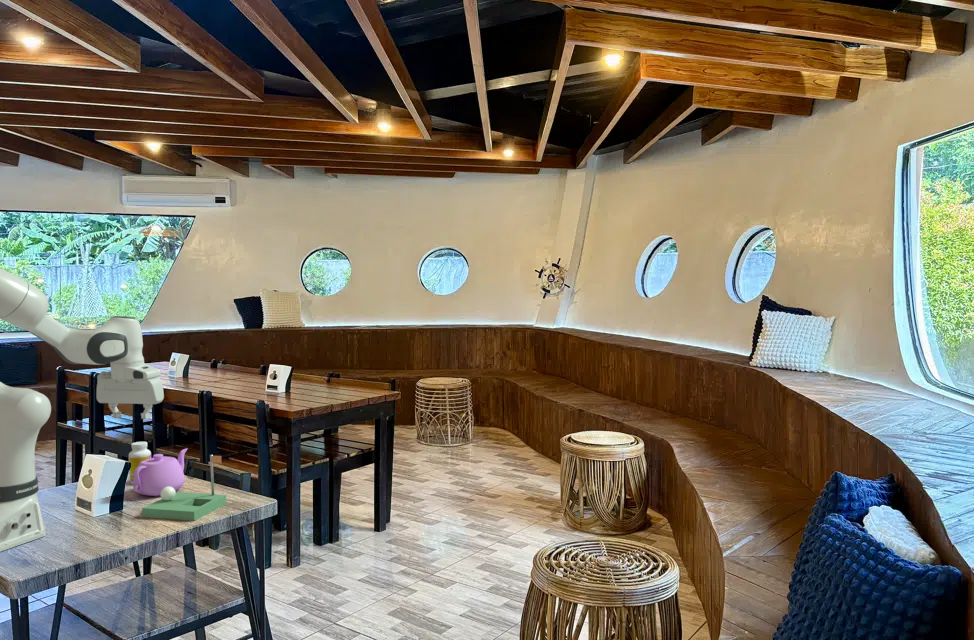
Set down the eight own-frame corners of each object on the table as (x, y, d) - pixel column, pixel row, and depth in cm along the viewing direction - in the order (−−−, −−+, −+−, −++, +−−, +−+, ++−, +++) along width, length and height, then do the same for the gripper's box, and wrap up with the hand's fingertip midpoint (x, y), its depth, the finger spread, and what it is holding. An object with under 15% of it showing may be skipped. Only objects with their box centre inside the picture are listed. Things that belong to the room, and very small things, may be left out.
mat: (194, 520, 200) (194, 511, 200) (142, 516, 204) (142, 508, 204) (226, 503, 215) (226, 495, 215) (177, 500, 219) (176, 491, 219)
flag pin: (222, 496, 214) (220, 455, 213) (211, 495, 215) (209, 455, 214) (223, 495, 215) (221, 455, 214) (212, 494, 215) (210, 454, 215)
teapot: (150, 502, 217) (148, 463, 216) (120, 497, 223) (117, 459, 222) (203, 484, 235) (201, 448, 234) (173, 479, 241) (172, 444, 240)
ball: (169, 502, 208) (169, 489, 208) (157, 502, 209) (157, 488, 209) (178, 498, 212) (178, 485, 212) (166, 497, 213) (166, 484, 213)
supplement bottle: (153, 482, 238) (151, 443, 237) (130, 486, 234) (128, 446, 233) (151, 477, 243) (149, 439, 242) (129, 481, 240) (127, 442, 239)
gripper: (89, 372, 212) (92, 419, 213) (151, 373, 207) (154, 421, 208) (105, 369, 218) (108, 415, 219) (165, 370, 213) (168, 416, 215)
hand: (131, 418), depth 214 cm, fingers open, 8 cm apart
